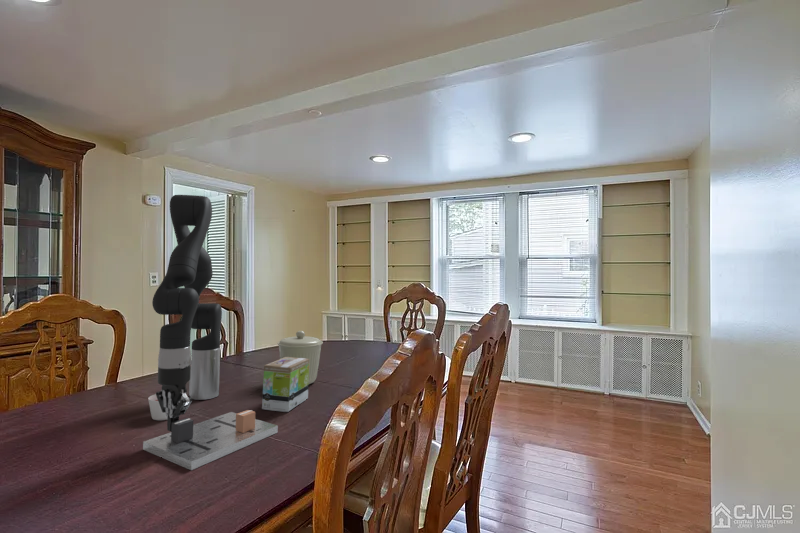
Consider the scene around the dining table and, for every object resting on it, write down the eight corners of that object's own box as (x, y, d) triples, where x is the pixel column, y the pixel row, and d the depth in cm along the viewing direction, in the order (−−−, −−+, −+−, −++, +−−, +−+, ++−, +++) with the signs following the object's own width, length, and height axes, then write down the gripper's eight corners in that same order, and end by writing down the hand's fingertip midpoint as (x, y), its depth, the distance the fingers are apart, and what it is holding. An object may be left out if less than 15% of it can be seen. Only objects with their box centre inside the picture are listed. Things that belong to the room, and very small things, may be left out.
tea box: (289, 413, 132) (290, 367, 132) (261, 410, 134) (262, 364, 134) (309, 398, 147) (310, 357, 147) (283, 396, 149) (284, 355, 149)
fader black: (171, 440, 105) (171, 422, 105) (186, 435, 108) (186, 417, 108) (178, 443, 103) (178, 424, 103) (193, 437, 107) (193, 419, 107)
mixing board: (142, 449, 104) (143, 441, 104) (231, 418, 126) (231, 411, 126) (191, 470, 94) (191, 461, 94) (277, 432, 116) (277, 425, 116)
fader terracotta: (235, 430, 112) (236, 413, 112) (247, 425, 115) (248, 409, 115) (243, 433, 110) (243, 415, 110) (255, 428, 114) (255, 411, 114)
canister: (298, 391, 155) (300, 335, 155) (266, 383, 164) (267, 331, 165) (331, 381, 170) (332, 330, 170) (299, 374, 180) (300, 326, 180)
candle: (187, 414, 129) (188, 394, 129) (160, 424, 121) (161, 402, 121) (168, 410, 133) (169, 390, 133) (140, 418, 124) (141, 397, 125)
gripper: (145, 363, 108) (144, 429, 107) (175, 370, 101) (173, 441, 101) (174, 358, 114) (172, 420, 114) (203, 364, 107) (201, 431, 107)
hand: (172, 430), depth 107 cm, fingers closed
